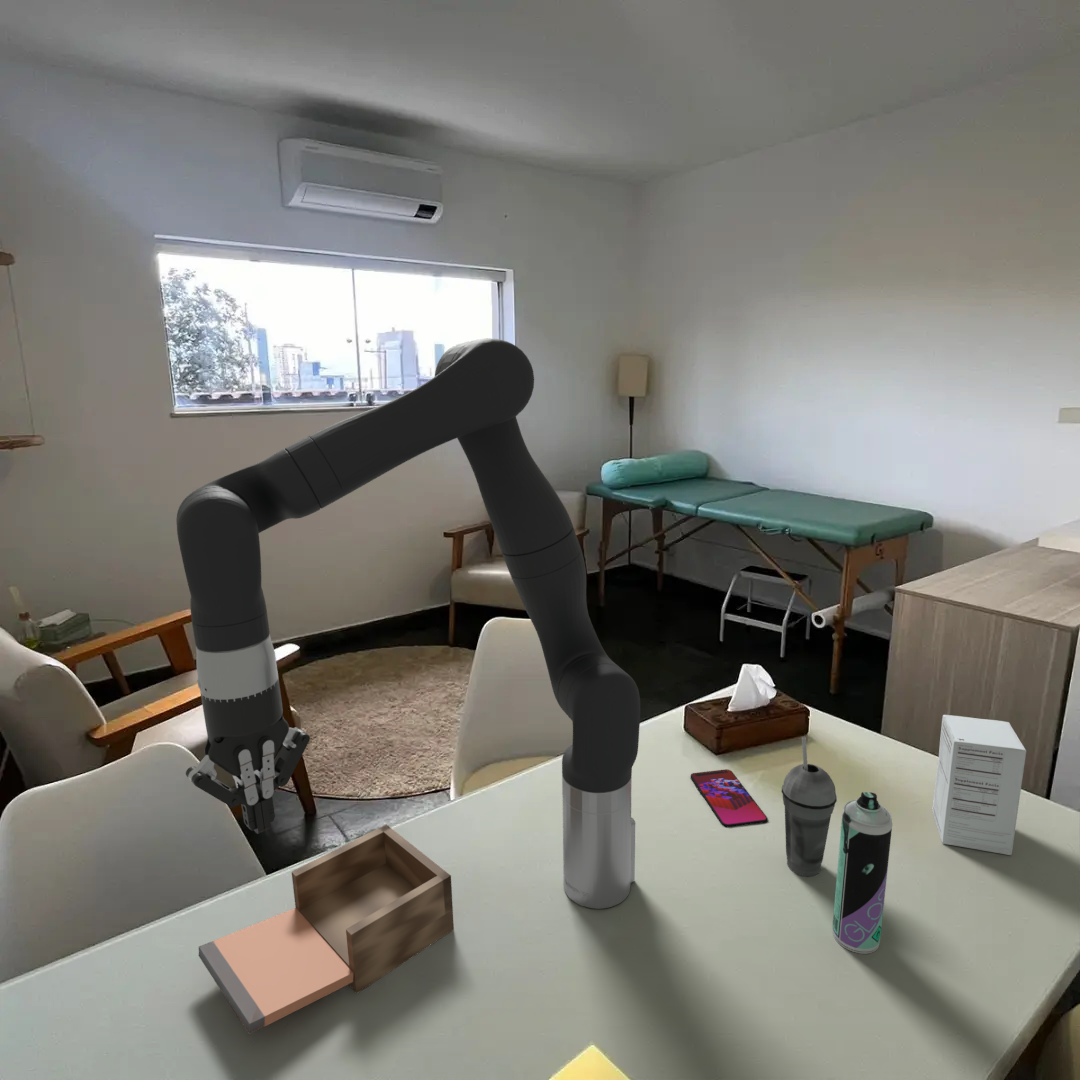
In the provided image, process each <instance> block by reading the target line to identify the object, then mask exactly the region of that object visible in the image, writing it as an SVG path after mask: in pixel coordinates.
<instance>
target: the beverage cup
mask: <svg viewBox="0 0 1080 1080" xmlns="http://www.w3.org/2000/svg"><path fill="white" fill-rule="evenodd" d="M801 747H802V762H803V764H798V765H796V766H795V767H793V768H791V769H790V770H789V772H787V774H786V776H785V777H784V780H783V784H782V787H781V790H780V791H781V794H782V800H783V801H782V802H783V805H784V824H785V831H784V832H785V854H786V860H787V861H786V865H787V867H788V868H789V870H790V871H792V872H793V873H794V874H797V875H799V876H804V877H813V876H817V875H818V874H819V873H820V871H821V867H822V863H823V860H824V854H825V849H826V844H827V838H828V833H829V829H830V827H829V826H830V822H831V817H832V814H833V813H834V809H835V806H836V803H837V802H838V801H837V797H838V796H837V793H836V786H835V784H834V781H833V780H832V777H831V776H830V775H829V773H828V771H826V770H824V769H823V767H820V766H818V765H815V764H813V763H812V764H811V763H808V752H807V750H808V749H807V739H806V736H801Z"/></svg>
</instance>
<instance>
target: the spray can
mask: <svg viewBox="0 0 1080 1080" xmlns="http://www.w3.org/2000/svg"><path fill="white" fill-rule="evenodd" d="M877 799H878V795H877V794H876V793H875V792H865V791H862V792H861V794H860V797H859V798H856V799H853V800H849V801H848V802H846V803H845V804H844V806H843V810H842V813H841V814H842V815H841V823H840V824H841V826H840V837H839V848H838V850H839V851H838V860H837V869H836V870H837V872H836V883H835V893H834V894H835V896H834V905H833V918H832V932H831V933H832V936H833V938H834V940H835V941H836V942H837V943H838V945H840V946H841V947H843V948H844V949H846V950H848V951H850V952H853V953H856V954H864V955H866V954H867V955H868V954H872V953H874V952H876V951H877V950H878V949H879V947H880V942H881V935H882V926H883V915H884V908H885V907H884V906H885V897H886V887H887V879H888V868H889V859H890V850H891V840H892V839H891V838H892V830H893V821H892V820H893V816H892V814H891V812H890V810H888V809H887V808H886V807H885V806H883V805H882V804H881V803H880V802H879V800H877Z"/></svg>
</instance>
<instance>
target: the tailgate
mask: <svg viewBox="0 0 1080 1080" xmlns="http://www.w3.org/2000/svg"><path fill="white" fill-rule="evenodd" d="M198 957H199V959H200V960H201V962H202V964H203V965H204V967H205V968H206V969H207V972H208V973H209V974H210V977H212V979H213V981H214V982H215V984H216V985H217V986H218V988H219V990H220V991H221V993H222V995H223V996H224V997H225V999H226V1000H227V1002H228V1003H229V1005H230V1007H231V1008H232V1010H233V1011H234V1013H235V1014H236V1016H237V1018H238V1019H239V1021H240V1022H241V1024H242V1026H244V1028H245V1031H247V1033H248V1035H250V1034H253V1033H255V1032H257V1031H259V1030H261V1029H263V1028H264V1027H267V1026H269V1025H270V1024H273V1023H274V1022H277V1021H278V1020H281V1019H282V1018H285V1017H287V1016H288V1015H290V1014H292V1013H294V1012H296V1011H298V1010H300V1009H303V1008H304V1007H306V1006H308V1005H311V1004H312V1003H314V1002H316V1001H318V1000H320V999H322V998H324V997H326V996H328V995H330V994H333V993H334V992H336V991H338V990H340V989H342V988H344V987H347V986H349V984H350V983H352V982H353V974H354V972H353V971H352V970H351V969H350V968H349V967H348V966H347V964H346V963H345V962H344V961H343V960H342V959H341V958H340V957H339V955H338V954H337V953H336V952H335V951H334V950H333V949H332V948H331V946H330V945H329V944H328V943H327V942H326V941H325V940H324V939H323V937H322V936H321V935H320V934H319V933H318V932H317V931H316V930H315V929H314V927H313V926H312V925H311V924H310V923H309V922H308V921H307V920H306V918H305V917H304V916H303V915H302V914H301V913H300V912H299V911H298V909H297V908H296V907H294V908H292V909H289V910H286V911H284V912H282V913H279V914H277V915H273V916H272V917H269V918H266V919H264V920H262V921H260V922H257V923H254V924H252V925H249V926H246V927H244V928H241V929H239V930H237V931H234V932H232V933H229V934H227V935H225V936H222V937H220V938H217V939H214V940H212V941H210V942H207V943H205V944H202V945H200V946H198Z"/></svg>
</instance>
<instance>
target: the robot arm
mask: <svg viewBox="0 0 1080 1080" xmlns="http://www.w3.org/2000/svg"><path fill="white" fill-rule="evenodd" d="M534 386H535V375H534V369H533V367H532V363H531V361H530V360H529V358H528V356H527V355H526V353H524V351H523V350H522V349H520V348H519V347H518V346H517V345H515V344H514V343H511V342H510V341H507V340H502V339H500V338H489V337H487V338H481V339H476V340H471V341H465V342H462V343H458V344H455V345H453V346H452V347H450V348H449V349H447V350H446V351H445V352H444V353H443V354H442V355H441V357H440V358H439V360H438V362H437V365H436V367H435V371H434V376H433V377H432V378H431V379H429V380H427V381H426V382H424V383H423V384H421V385H420V386H418V387H416V388H414V389H413V390H411V391H409V392H407V393H405V394H403V395H401V396H399V397H397V398H395V399H393V400H390V401H388V402H386V403H383V404H381V405H379V406H376V407H374V408H371V409H369V410H366V411H363V412H361V413H358V414H355V415H353V416H350V417H348V418H346V419H343V420H340V421H338V422H335V423H333V424H331V425H329V426H327V427H325V428H322V429H321V430H318V431H316V432H313V433H312V434H310V435H308V436H306V437H304V438H302V439H300V440H299V441H296V442H294V443H292V444H291V445H290V444H289V446H286V447H285V448H283V449H280V450H278V451H277V452H276V453H274V454H272V455H271V456H269V457H268V458H266V459H264V460H262V461H260V462H257V463H255V464H252V465H250V466H246V467H245V468H242V469H239V470H237V471H234V472H232V473H229V474H226V475H224V476H222V477H219V478H217V479H215V480H212V481H210V482H208V483H206V484H204V485H203V486H200V487H198V488H196V489H195V490H193V491H192V492H191V493H189V494H188V495H187V496H186V497H185V498H184V499H183V500H182V502H181V504H180V505H179V507H178V509H177V514H176V535H177V540H178V545H179V550H180V554H181V559H182V564H183V568H184V573H185V577H186V581H187V586H188V590H189V593H190V600H189V601H190V617H191V625H192V630H193V636H194V643H195V652H196V662H195V663H196V674H197V679H196V680H197V686H198V687H197V688H198V689H199V692H200V699H201V703H202V705H201V706H202V710H203V716H204V718H203V719H204V724H205V729H206V734H207V738H206V743H205V746H204V754H205V755H204V756H203V758H202V759H201V761H199V763H198V764H197V765H196V766H195V765H193V766H189V767H188V768H187V769H186V771H185V775H186V777H187V779H188V780H190V782H191V783H192V784H193V785H194V786H195V787H196V788H199V789H200V790H201V791H203V792H205V793H207V794H209V795H210V796H212V797H214V798H215V799H217V800H218V801H221V802H222V803H224V804H225V805H227V806H229V807H230V808H236V807H238V806H239V805H240V806H241V810H242V812H241V813H242V817H243V823H244V824H245V825H246V827H247V828H248V829H249V830H250V831H251V832H253V831H254V832H255V834H257V835H258V834H260V833H264V832H265V831H267V830H269V829H272V822H274V821H275V817H276V813H275V808H274V801H273V795H274V792H275V791H276V790H277V789H278V788H279V787H285V786H286V785H287V784H288V783H289V781H290V780H291V777H292V775H293V774H294V771H295V770H296V767H297V765H298V763H299V762H300V759H301V758H302V757H303V756H302V755H303V754H304V752H305V751H306V748H307V746H308V744H309V742H310V739H311V736H310V735H309V734H308V733H306V731H304V730H303V729H301V728H300V727H296V726H295V727H290V725H289V723H288V721H287V720H286V719H285V718H284V715H283V712H284V710H283V702H282V695H281V694H282V693H281V688H280V687H281V686H280V680H279V673H278V672H279V671H278V667H277V658H276V657H277V656H276V652H275V649H274V644H273V642H272V638H271V634H270V632H271V631H270V625H269V618H268V611H267V604H266V603H267V602H266V598H265V594H264V591H263V588H262V559H261V558H262V557H261V544H260V535H259V534H260V533H262V532H264V531H266V530H268V529H270V528H272V527H273V526H276V525H278V524H280V523H281V522H283V521H286V520H290V519H301V518H306V517H307V516H310V515H311V514H314V513H317V512H318V511H320V510H321V509H324V508H326V507H328V506H329V505H331V504H333V503H334V502H336V501H338V500H340V499H342V498H344V497H345V496H347V495H350V494H351V493H353V492H354V491H357V490H358V489H360V488H361V487H363V486H365V485H367V484H368V483H370V482H373V480H375V479H377V478H379V477H381V476H382V475H384V474H386V473H388V472H389V471H391V470H394V469H395V468H397V467H399V466H401V465H402V464H404V463H406V462H408V461H409V460H412V459H414V458H415V457H418V456H420V455H421V454H423V453H426V452H428V451H430V450H433V449H434V448H437V447H439V446H442V445H443V444H446V443H448V442H451V441H453V440H456V439H457V440H458V442H459V444H460V446H461V449H462V450H463V452H464V454H465V456H466V458H467V461H468V462H469V465H470V467H471V470H472V473H473V474H474V477H475V481H476V483H477V486H478V489H479V493H480V495H481V498H482V502H483V504H484V507H485V509H486V510H485V511H486V513H487V515H488V517H489V520H490V523H491V526H492V528H493V529H492V530H493V531H494V535H495V537H496V539H497V543H498V546H499V549H500V552H501V554H502V557H503V559H504V562H505V566H506V567H507V570H508V573H509V575H510V577H511V580H512V583H513V584H514V586H515V589H516V590H517V591H516V592H517V594H518V596H519V598H520V600H521V603H522V604H523V607H524V609H525V611H526V614H527V615H528V617H529V619H530V622H531V623H532V626H533V627H534V629H535V631H536V633H537V637H538V638H539V639H538V640H539V642H540V646H541V649H542V653H543V657H544V660H545V665H546V667H547V671H548V672H547V673H548V676H549V681H550V684H551V688H552V692H553V695H554V698H555V700H556V702H557V704H558V705H559V707H560V709H561V710H562V711H563V712H564V713H565V715H566V716H568V718H569V719H570V720H571V722H572V744H571V745H570V746H568V747H567V748H566V750H564V752H563V755H562V757H561V758H562V759H561V782H562V783H561V785H562V789H561V790H562V793H561V794H562V853H563V854H562V855H563V856H562V861H563V862H562V863H563V866H562V867H563V871H562V873H563V890H564V892H565V894H566V895H567V897H568V898H569V899H570V900H572V901H573V902H575V904H578V905H580V906H582V907H585V908H590V909H599V910H601V909H607V908H608V909H609V908H612V907H615V906H617V905H619V904H621V903H622V902H624V901H625V900H626V899H627V897H628V896H629V893H630V892H631V884H632V883H633V882H635V879H636V878H635V877H636V875H635V874H636V872H635V871H636V870H635V869H636V820H635V819H634V818H633V817H632V779H633V778H632V773H633V769H632V768H633V766H634V764H635V762H636V761H637V760H636V759H637V757H638V753H639V743H640V742H639V741H640V727H641V726H640V725H641V723H640V721H641V697H640V692H639V688H638V686H637V683H636V681H635V680H634V679H633V677H632V676H631V675H629V674H628V673H627V672H626V671H625V670H623V668H621V667H620V666H619V665H618V664H616V663H615V662H614V661H613V660H612V659H611V658H610V657H609V656H608V655H607V653H606V651H605V650H604V648H603V646H602V644H601V642H600V640H599V638H598V635H597V632H596V630H595V628H594V626H593V624H592V623H593V622H592V621H591V618H590V616H589V611H588V605H587V571H586V570H587V569H586V563H585V559H584V555H583V552H582V548H581V545H580V542H579V540H578V539H579V538H578V537H577V533H576V530H575V527H574V525H573V523H572V520H571V517H570V514H569V513H568V512H569V511H567V509H566V506H565V505H564V503H563V501H562V500H561V499H560V497H559V495H558V493H557V492H556V490H555V488H554V487H553V486H552V485H551V483H550V481H549V480H548V478H546V476H545V474H544V473H543V471H542V470H541V469H540V467H539V466H538V464H537V463H536V462H535V460H534V458H533V456H532V455H531V453H530V451H529V449H528V447H527V444H526V443H525V439H524V438H523V435H522V433H521V432H522V431H521V429H520V426H519V423H518V419H517V416H518V415H519V414H520V413H521V412H522V411H524V409H525V408H526V406H527V405H528V403H529V402H530V399H531V397H532V395H533V392H534ZM215 765H217V766H218V767H220V768H221V769H222V770H223V771H225V772H227V773H228V774H230V775H231V776H232V778H233V779H234V783H235V788H231V787H230V786H228V785H227V784H225V783H224V782H221V781H220V780H218V779H216V778H217V775H218V773H217V771H216V769H215V768H214V767H215Z"/></svg>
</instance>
